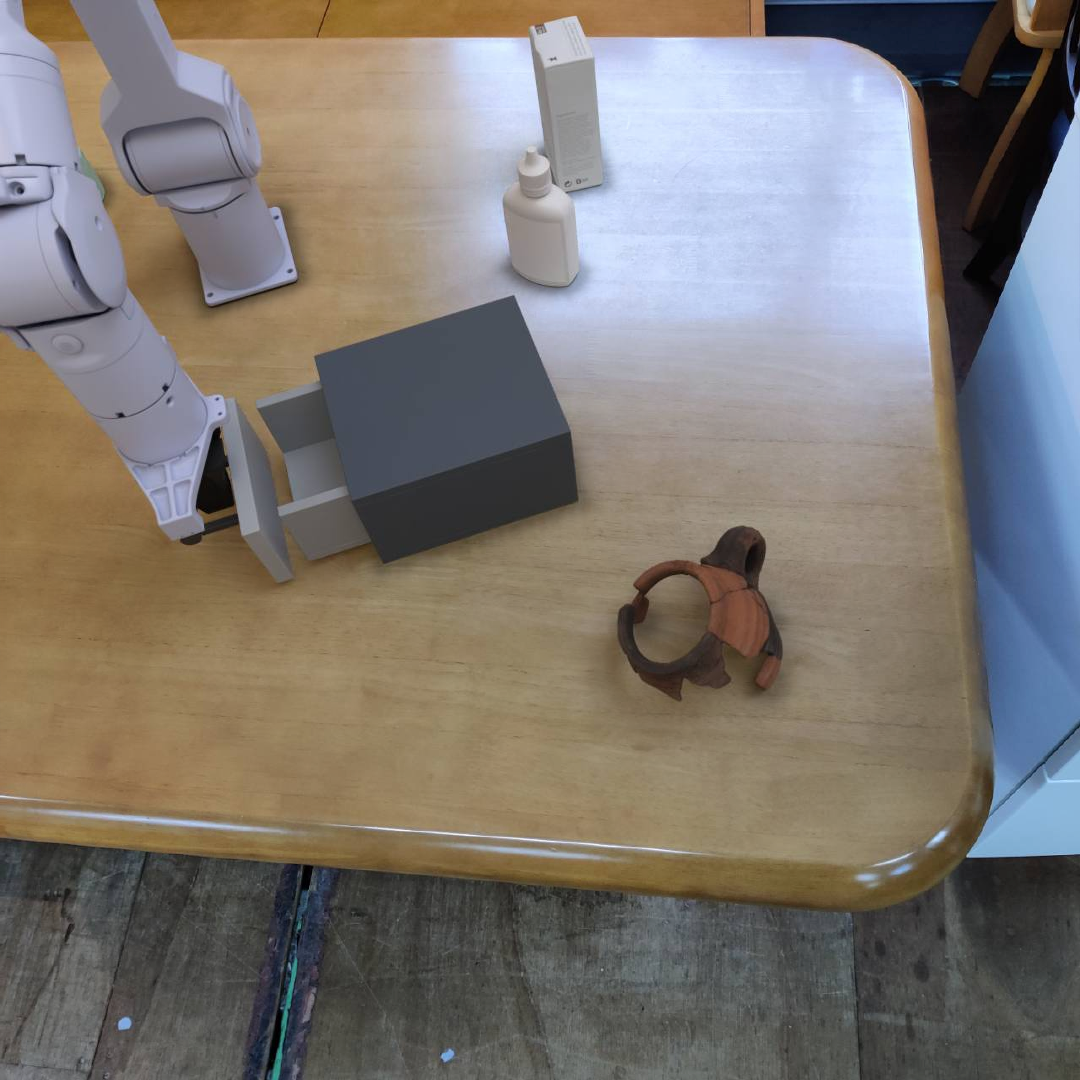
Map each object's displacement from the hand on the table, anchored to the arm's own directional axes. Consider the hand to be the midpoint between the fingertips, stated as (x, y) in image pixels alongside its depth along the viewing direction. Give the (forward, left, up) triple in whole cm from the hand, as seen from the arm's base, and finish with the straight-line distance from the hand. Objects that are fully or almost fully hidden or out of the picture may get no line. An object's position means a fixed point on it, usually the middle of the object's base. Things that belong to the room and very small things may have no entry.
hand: (219, 502), depth 66 cm
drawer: (0, +6, -3) cm, 7 cm away
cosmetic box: (-27, +35, -4) cm, 44 cm away
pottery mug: (+19, +29, -4) cm, 35 cm away
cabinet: (0, +17, -4) cm, 17 cm away
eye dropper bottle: (-16, +29, -4) cm, 33 cm away
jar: (-42, -9, -4) cm, 43 cm away
